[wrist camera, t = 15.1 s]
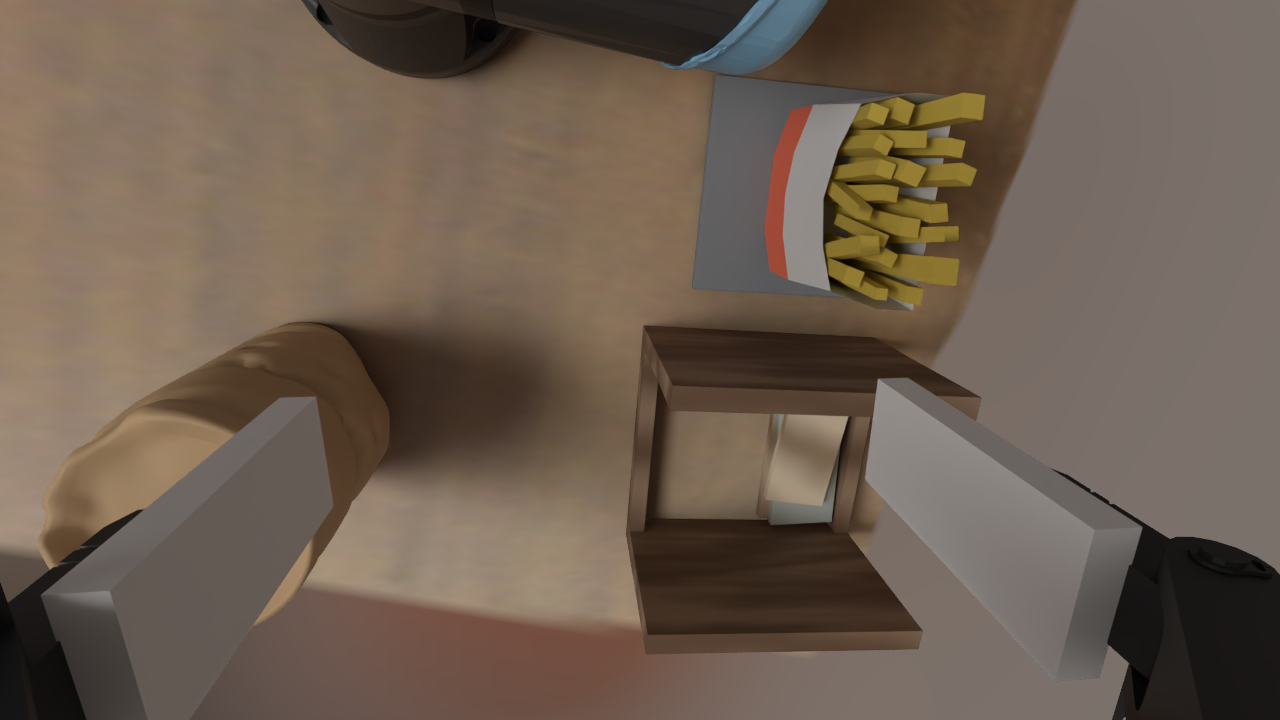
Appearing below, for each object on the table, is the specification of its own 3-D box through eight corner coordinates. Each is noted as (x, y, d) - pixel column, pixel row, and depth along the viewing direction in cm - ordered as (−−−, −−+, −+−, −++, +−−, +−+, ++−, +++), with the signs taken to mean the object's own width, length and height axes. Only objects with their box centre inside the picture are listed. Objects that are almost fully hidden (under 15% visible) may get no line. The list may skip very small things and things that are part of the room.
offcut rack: (643, 325, 49) (672, 385, 35) (873, 337, 51) (981, 397, 38) (626, 534, 54) (645, 654, 41) (835, 535, 56) (918, 649, 43)
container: (193, 413, 47) (-22, 555, 30) (290, 286, 45) (120, 360, 28) (340, 505, 50) (224, 679, 33) (436, 391, 48) (365, 513, 31)
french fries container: (754, 265, 48) (860, 320, 30) (774, 112, 44) (904, 78, 27) (812, 268, 48) (947, 324, 31) (835, 118, 45) (999, 88, 28)
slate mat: (714, 75, 44) (716, 74, 43) (900, 95, 46) (904, 94, 45) (692, 287, 48) (693, 288, 48) (863, 297, 50) (866, 299, 49)
